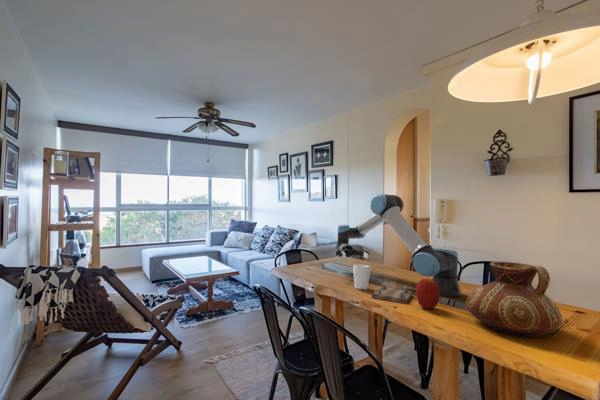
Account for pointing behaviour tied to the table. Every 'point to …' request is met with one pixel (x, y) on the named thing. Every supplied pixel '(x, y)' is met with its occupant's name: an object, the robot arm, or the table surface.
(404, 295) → the peg stand
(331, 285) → the table surface
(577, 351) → the table surface
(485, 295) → the jug
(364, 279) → the cup
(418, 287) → the apple
